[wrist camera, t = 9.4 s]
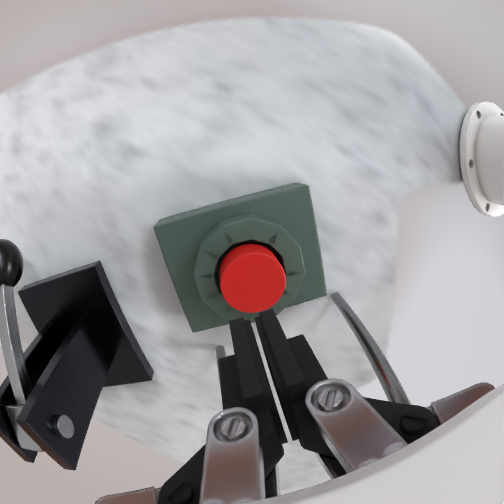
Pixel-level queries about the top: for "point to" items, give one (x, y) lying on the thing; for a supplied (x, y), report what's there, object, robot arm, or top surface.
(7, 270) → the lever
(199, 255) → the button box
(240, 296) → the button
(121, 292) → the top surface
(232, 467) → the robot arm
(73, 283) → the lever bracket
